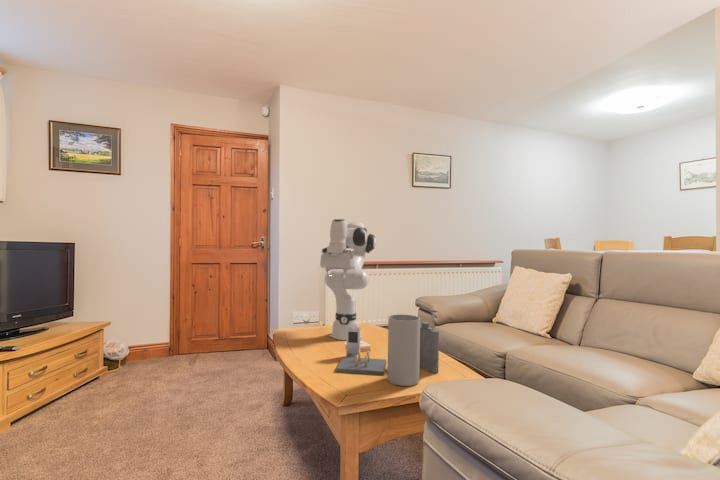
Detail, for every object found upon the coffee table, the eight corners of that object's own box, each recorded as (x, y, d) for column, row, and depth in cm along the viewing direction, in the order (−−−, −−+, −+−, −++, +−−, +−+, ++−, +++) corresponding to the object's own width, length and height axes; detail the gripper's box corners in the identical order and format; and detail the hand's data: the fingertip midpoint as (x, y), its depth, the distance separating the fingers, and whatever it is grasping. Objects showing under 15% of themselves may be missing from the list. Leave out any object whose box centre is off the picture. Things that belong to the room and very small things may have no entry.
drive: (347, 355, 174) (348, 326, 174) (359, 356, 173) (360, 327, 174) (346, 358, 170) (346, 328, 171) (358, 358, 170) (359, 329, 170)
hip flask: (408, 363, 164) (409, 319, 164) (414, 362, 166) (415, 318, 167) (434, 374, 151) (435, 326, 151) (441, 372, 153) (442, 325, 154)
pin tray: (343, 360, 168) (343, 347, 168) (386, 362, 165) (386, 349, 165) (336, 372, 152) (336, 357, 152) (383, 375, 149) (384, 360, 149)
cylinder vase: (420, 376, 148) (421, 315, 148) (418, 388, 136) (419, 321, 136) (389, 373, 151) (390, 313, 151) (385, 385, 138) (386, 319, 139)
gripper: (357, 250, 181) (356, 278, 179) (327, 250, 193) (325, 276, 192) (349, 249, 176) (348, 277, 175) (319, 249, 188) (317, 276, 187)
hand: (336, 277), depth 183 cm, fingers open, 8 cm apart
